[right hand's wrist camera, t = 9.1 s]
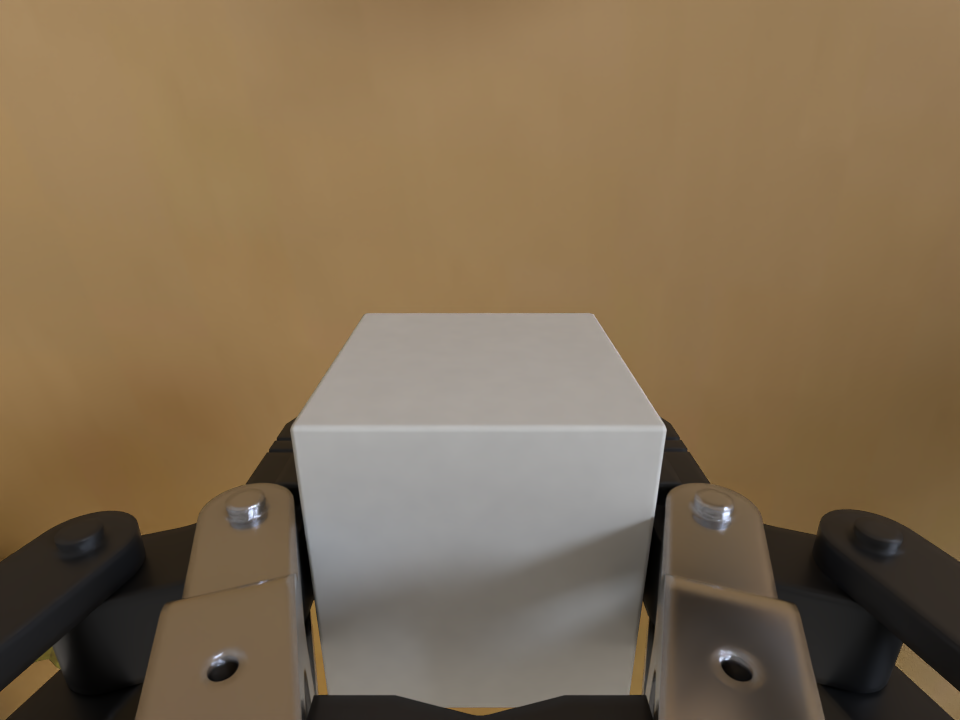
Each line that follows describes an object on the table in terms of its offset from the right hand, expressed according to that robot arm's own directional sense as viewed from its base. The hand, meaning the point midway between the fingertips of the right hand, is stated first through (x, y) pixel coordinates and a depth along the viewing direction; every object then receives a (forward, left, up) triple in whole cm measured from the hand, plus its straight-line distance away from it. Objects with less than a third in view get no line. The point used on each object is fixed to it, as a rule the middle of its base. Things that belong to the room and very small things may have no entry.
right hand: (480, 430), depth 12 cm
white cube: (0, 0, 0) cm, 0 cm away
